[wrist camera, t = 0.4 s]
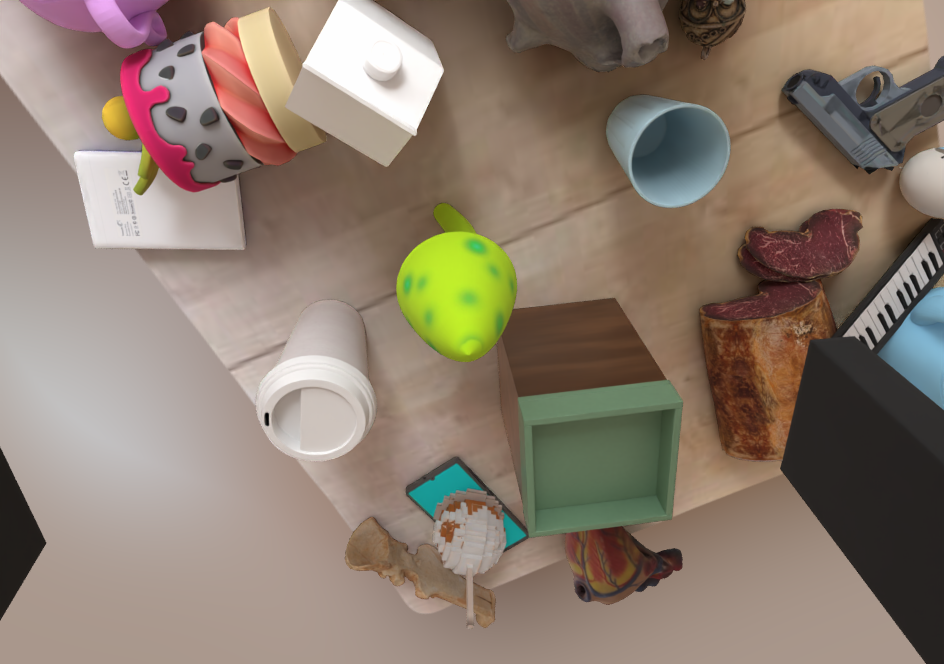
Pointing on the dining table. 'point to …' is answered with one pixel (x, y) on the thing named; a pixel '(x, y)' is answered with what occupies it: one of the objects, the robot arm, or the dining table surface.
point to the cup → (668, 148)
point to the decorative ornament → (469, 536)
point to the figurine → (414, 569)
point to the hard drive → (155, 208)
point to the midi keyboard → (898, 289)
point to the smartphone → (460, 478)
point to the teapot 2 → (921, 347)
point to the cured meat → (773, 330)
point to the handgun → (870, 112)
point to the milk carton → (367, 79)
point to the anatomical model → (615, 564)
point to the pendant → (711, 21)
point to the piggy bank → (592, 30)
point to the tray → (599, 457)
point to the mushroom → (457, 289)
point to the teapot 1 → (107, 18)
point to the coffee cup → (319, 386)
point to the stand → (567, 356)
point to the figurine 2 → (925, 182)
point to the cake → (212, 103)
